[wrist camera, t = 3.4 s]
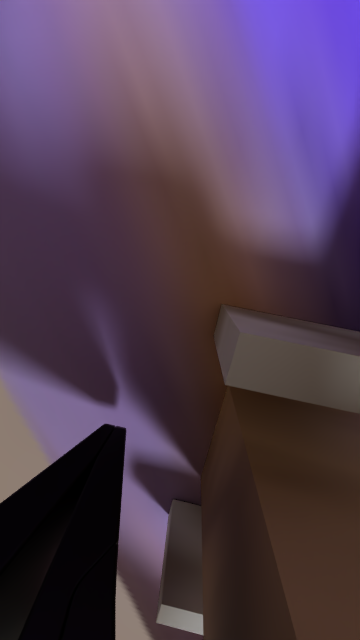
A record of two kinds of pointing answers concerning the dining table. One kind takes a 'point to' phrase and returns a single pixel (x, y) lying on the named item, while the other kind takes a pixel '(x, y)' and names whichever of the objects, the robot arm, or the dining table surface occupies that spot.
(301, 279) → the dining table surface
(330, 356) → the trap lane
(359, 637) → the block
